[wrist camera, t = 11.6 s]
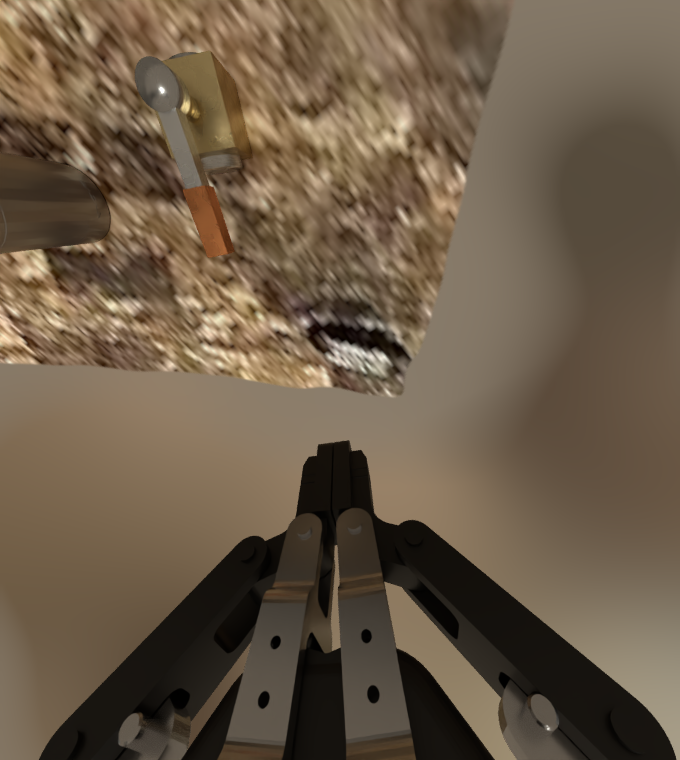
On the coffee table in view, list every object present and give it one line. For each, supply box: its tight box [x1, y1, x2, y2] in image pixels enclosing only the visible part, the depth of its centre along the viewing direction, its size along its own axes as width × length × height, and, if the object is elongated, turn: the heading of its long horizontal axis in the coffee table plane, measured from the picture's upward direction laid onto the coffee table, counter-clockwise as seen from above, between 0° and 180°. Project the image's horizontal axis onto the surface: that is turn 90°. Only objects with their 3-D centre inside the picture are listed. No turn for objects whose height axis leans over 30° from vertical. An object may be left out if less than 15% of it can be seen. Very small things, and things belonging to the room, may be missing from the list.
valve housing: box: [155, 51, 253, 174], centre depth 30 cm, size 7×9×10 cm
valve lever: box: [135, 56, 235, 258], centre depth 27 cm, size 15×3×2 cm, turn 10°
